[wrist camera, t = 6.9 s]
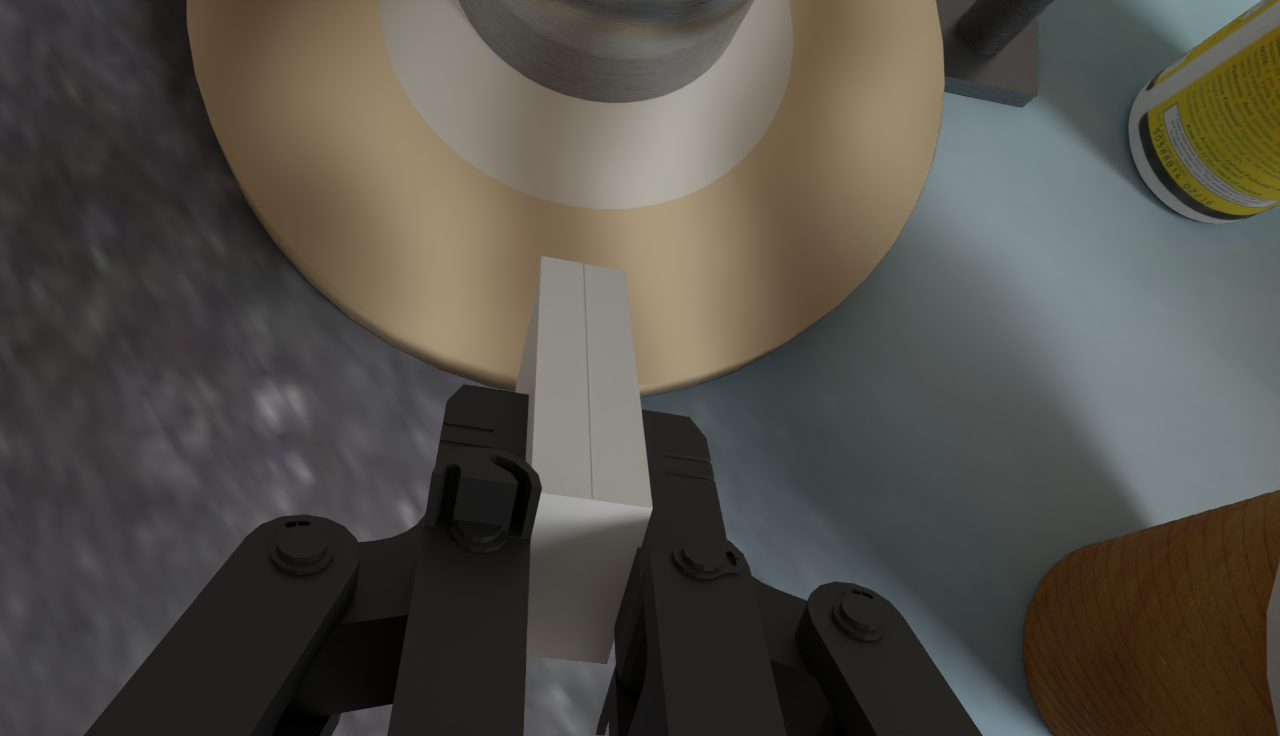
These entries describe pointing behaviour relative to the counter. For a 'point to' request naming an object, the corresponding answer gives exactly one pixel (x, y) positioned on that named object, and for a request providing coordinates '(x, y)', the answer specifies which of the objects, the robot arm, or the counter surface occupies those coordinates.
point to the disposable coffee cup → (1164, 630)
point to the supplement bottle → (1215, 123)
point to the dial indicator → (991, 48)
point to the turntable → (574, 173)
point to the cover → (608, 42)
